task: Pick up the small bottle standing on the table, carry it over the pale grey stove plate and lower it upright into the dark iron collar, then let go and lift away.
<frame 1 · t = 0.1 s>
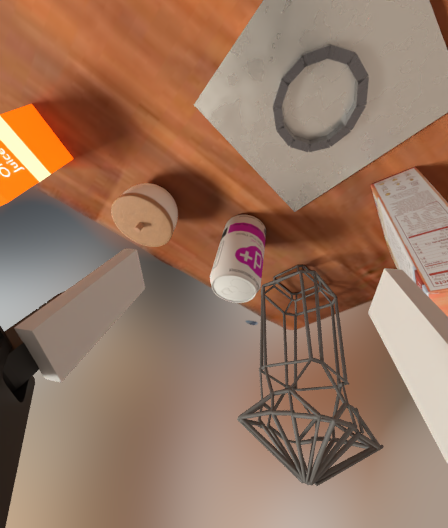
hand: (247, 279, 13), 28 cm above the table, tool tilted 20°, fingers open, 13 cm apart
supplement can: (245, 229, 45), on the table
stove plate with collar: (316, 100, 28), on the table
lidded jar: (159, 199, 44), on the table
cracker box: (399, 209, 37), on the table
geometric lantern: (299, 277, 52), on the table
orange juice: (41, 139, 40), on the table
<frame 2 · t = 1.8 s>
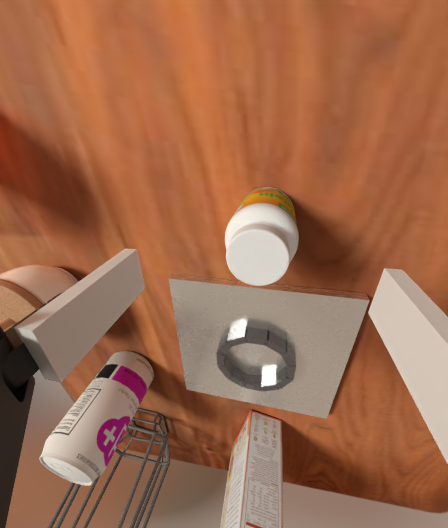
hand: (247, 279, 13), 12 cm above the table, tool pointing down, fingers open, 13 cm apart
supplement can: (135, 363, 40), on the table
supplement bottle: (266, 214, 23), on the table
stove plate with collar: (256, 348, 32), on the table
lidded jar: (65, 283, 34), on the table
cracker box: (256, 431, 42), on the table
geometric lantern: (152, 419, 49), on the table
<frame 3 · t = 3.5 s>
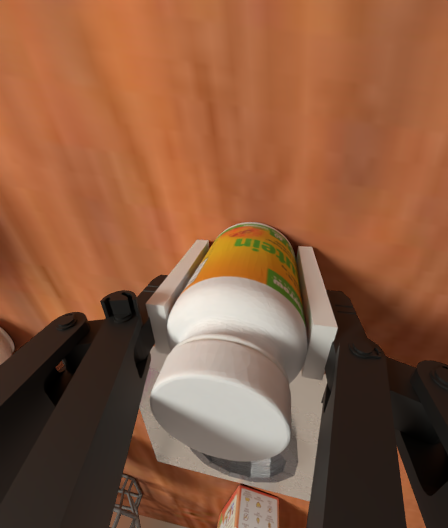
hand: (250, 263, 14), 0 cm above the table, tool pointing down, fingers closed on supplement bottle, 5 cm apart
supplement bottle: (251, 259, 15), on the table, touching gripper
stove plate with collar: (244, 423, 24), on the table
cracker box: (247, 503, 34), on the table
geometric lantern: (123, 479, 40), on the table
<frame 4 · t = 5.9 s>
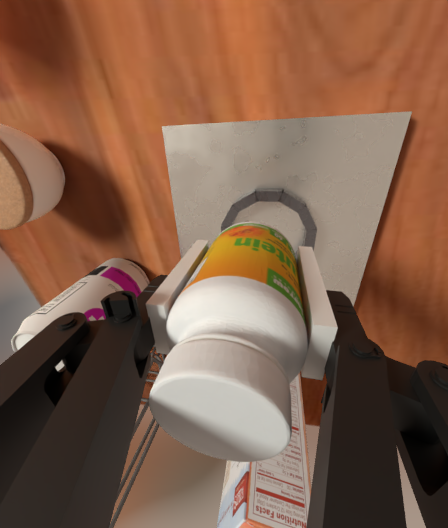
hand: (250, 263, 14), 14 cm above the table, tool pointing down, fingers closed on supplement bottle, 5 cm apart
supplement can: (129, 278, 36), on the table
supplement bottle: (251, 259, 15), point 13 cm above the table, touching gripper
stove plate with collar: (267, 229, 27), on the table
lidded jar: (45, 169, 30), on the table
cracker box: (266, 355, 38), on the table
geometric lantern: (151, 356, 44), on the table
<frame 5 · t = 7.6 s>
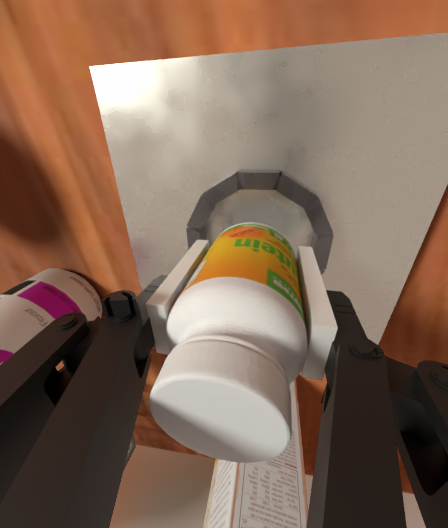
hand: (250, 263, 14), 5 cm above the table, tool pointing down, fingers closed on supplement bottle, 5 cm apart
supplement can: (75, 294, 27), on the table
supplement bottle: (251, 259, 15), point 5 cm above the table, touching gripper
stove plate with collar: (257, 233, 19), on the table
cracker box: (256, 395, 29), on the table
when the fingers open (4 cm above the table, at t = 8.7 s): supplement bottle drops 3 cm, resting on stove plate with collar.
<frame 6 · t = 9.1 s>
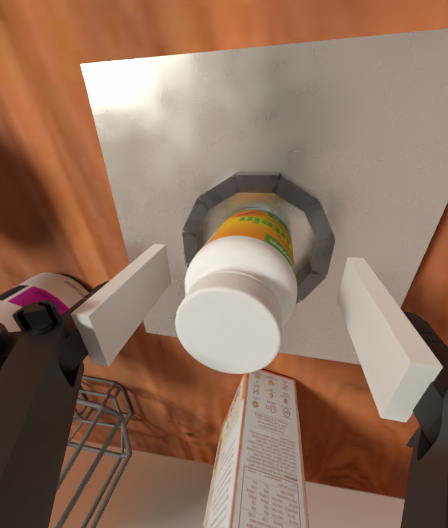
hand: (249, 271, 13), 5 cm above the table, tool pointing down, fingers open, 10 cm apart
supplement can: (70, 299, 26), on the table
supplement bottle: (253, 242, 17), point 1 cm above the table, touching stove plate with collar
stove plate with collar: (256, 237, 18), on the table
cracker box: (255, 402, 28), on the table
geometric lantern: (110, 393, 35), on the table
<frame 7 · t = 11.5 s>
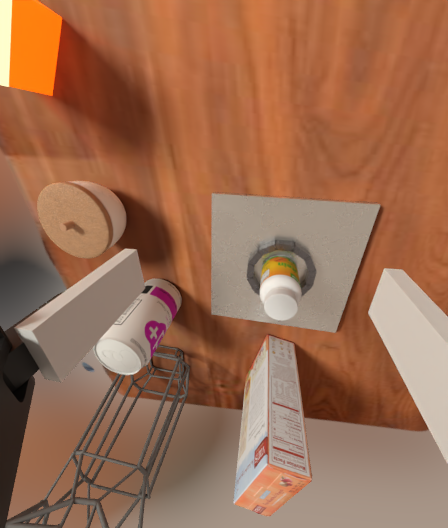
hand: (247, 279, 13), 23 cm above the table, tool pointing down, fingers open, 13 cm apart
supplement can: (163, 294, 44), on the table
supplement bottle: (279, 268, 36), point 1 cm above the table, touching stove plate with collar
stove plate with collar: (279, 266, 37), on the table
lidded jar: (108, 209, 38), on the table
cracker box: (269, 359, 47), on the table
geometric lantern: (170, 357, 53), on the table
orange juice: (31, 42, 29), on the table
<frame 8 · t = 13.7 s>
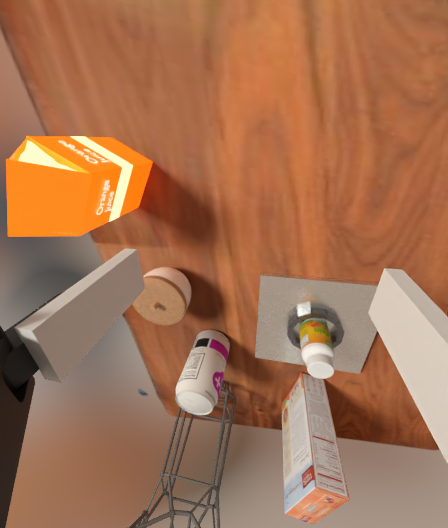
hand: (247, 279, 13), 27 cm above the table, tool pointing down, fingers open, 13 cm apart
supplement can: (213, 340, 54), on the table
supplement bottle: (313, 327, 45), point 1 cm above the table, touching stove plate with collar
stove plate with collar: (312, 323, 46), on the table
lidded jar: (174, 280, 48), on the table
cracker box: (302, 390, 56), on the table
geometric lantern: (216, 387, 63), on the table
orange juice: (126, 174, 39), on the table
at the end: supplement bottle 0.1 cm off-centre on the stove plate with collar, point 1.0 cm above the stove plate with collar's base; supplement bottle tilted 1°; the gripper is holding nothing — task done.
